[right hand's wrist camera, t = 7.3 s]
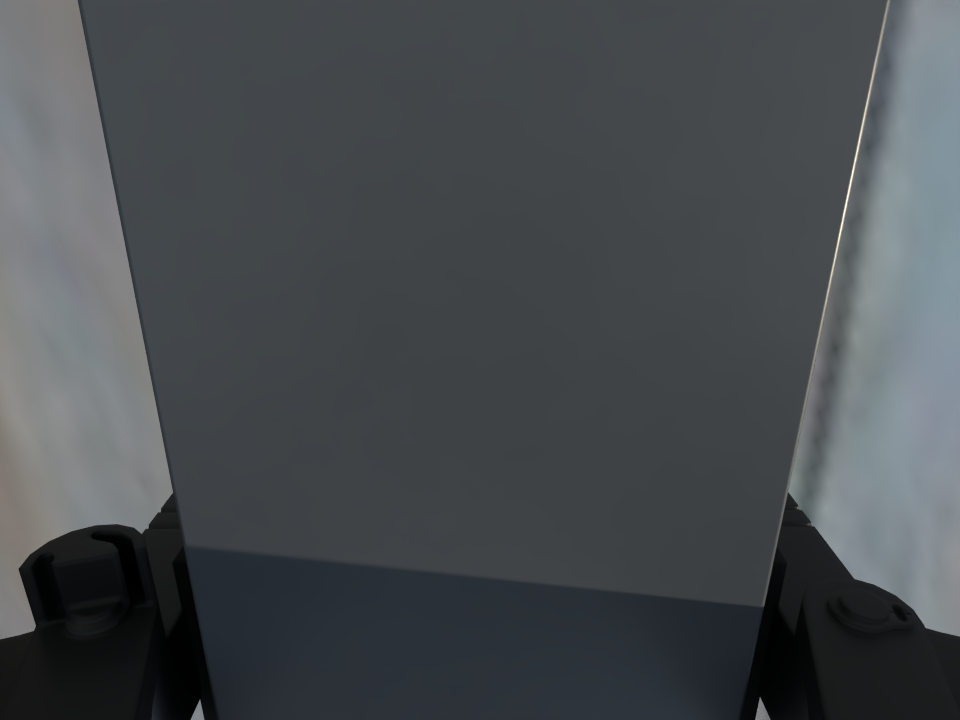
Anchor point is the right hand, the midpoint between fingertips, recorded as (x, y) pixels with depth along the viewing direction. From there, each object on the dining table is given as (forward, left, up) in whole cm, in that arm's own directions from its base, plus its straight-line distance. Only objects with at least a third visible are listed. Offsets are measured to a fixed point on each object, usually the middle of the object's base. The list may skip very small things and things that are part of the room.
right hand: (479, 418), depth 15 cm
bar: (+10, +16, -1) cm, 19 cm away
